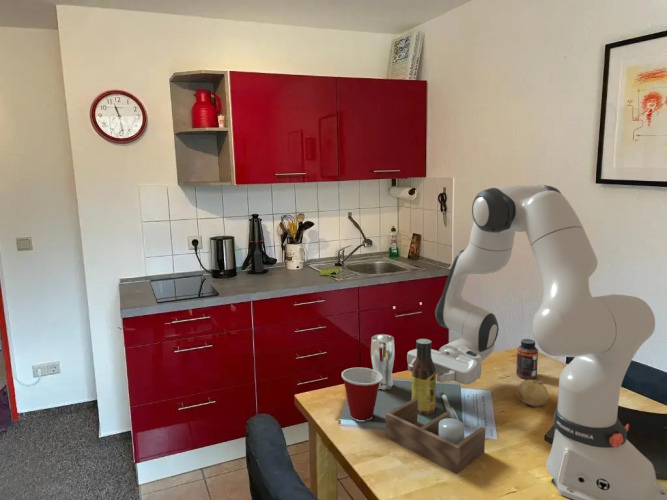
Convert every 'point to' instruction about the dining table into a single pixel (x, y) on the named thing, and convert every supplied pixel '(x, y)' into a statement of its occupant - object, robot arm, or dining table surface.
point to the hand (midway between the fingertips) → (424, 373)
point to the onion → (532, 392)
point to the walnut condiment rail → (432, 438)
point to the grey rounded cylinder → (451, 430)
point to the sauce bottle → (424, 378)
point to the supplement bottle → (527, 359)
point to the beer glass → (383, 358)
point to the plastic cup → (361, 391)
